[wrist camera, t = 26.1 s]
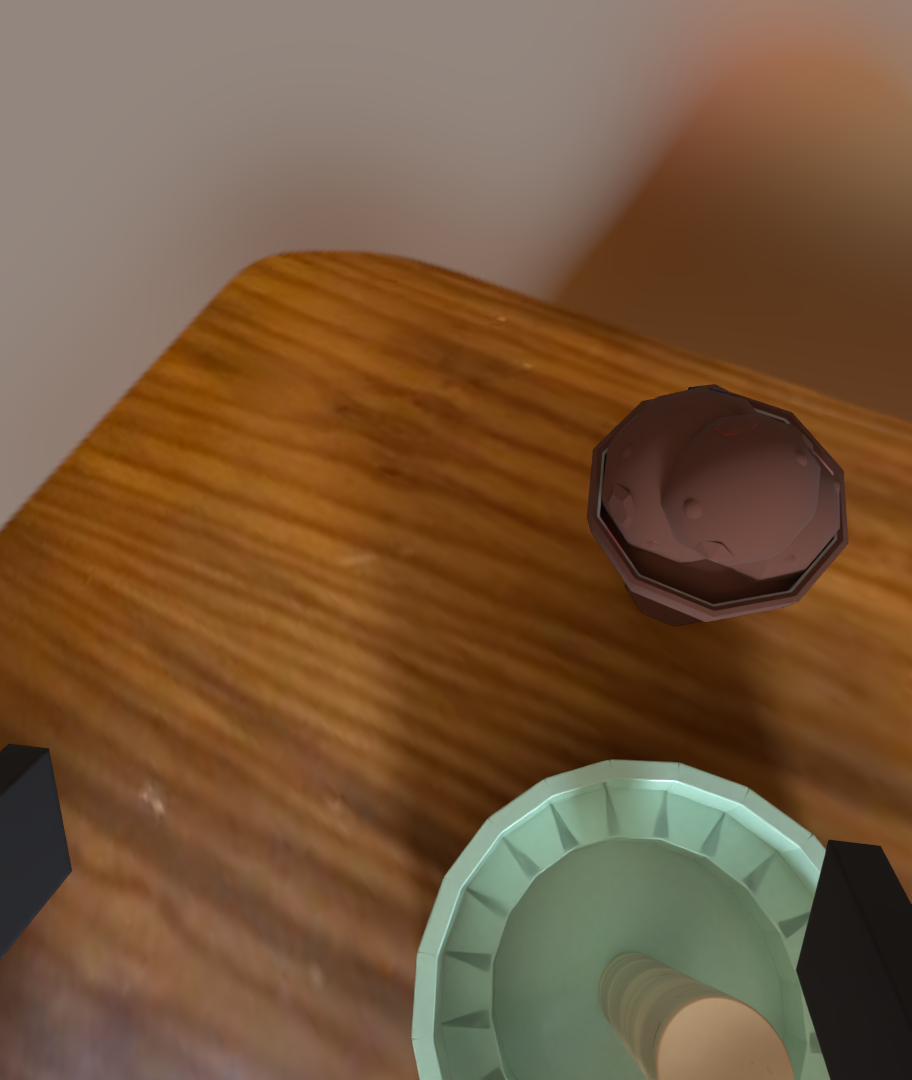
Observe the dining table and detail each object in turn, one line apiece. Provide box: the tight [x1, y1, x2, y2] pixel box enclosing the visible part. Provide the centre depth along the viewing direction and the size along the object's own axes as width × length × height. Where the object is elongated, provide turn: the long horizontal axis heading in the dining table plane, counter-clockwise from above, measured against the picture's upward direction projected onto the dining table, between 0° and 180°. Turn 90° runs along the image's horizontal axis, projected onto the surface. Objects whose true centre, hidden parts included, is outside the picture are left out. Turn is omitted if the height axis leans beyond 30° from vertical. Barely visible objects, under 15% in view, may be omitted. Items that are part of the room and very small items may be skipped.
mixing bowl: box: [411, 759, 830, 1080], centre depth 30 cm, size 18×18×6 cm
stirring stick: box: [599, 953, 794, 1080], centre depth 25 cm, size 3×3×16 cm
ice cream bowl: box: [587, 384, 848, 626], centre depth 34 cm, size 11×11×15 cm
